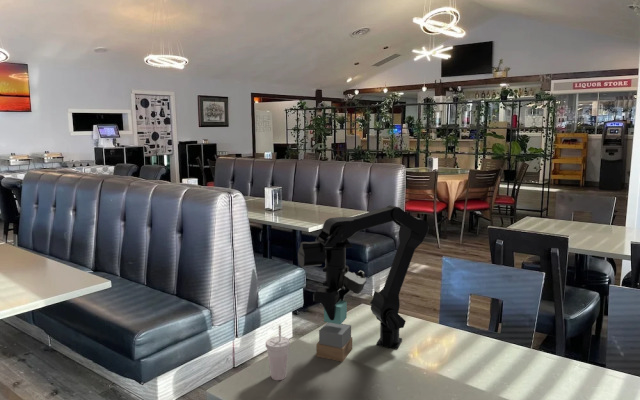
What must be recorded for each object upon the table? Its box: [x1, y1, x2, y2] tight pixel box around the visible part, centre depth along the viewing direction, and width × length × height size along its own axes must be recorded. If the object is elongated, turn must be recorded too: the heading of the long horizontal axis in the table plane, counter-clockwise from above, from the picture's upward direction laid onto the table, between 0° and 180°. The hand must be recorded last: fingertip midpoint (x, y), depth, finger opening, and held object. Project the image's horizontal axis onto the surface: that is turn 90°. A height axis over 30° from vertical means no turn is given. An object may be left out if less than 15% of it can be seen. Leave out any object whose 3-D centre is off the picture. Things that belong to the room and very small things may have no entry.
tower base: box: [316, 336, 353, 363], centre depth 133 cm, size 8×8×4 cm
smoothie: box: [265, 324, 291, 381], centre depth 120 cm, size 6×6×14 cm
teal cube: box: [323, 300, 348, 325], centre depth 132 cm, size 5×5×5 cm
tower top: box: [318, 322, 352, 348], centre depth 133 cm, size 7×7×4 cm
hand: (335, 316), depth 132 cm, fingers closed on teal cube, 5 cm apart
